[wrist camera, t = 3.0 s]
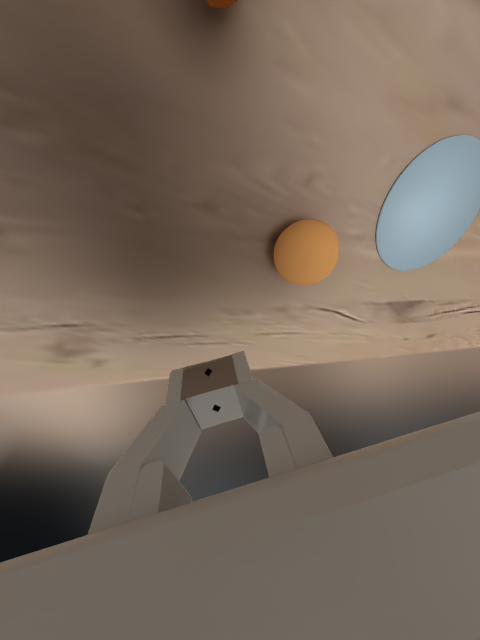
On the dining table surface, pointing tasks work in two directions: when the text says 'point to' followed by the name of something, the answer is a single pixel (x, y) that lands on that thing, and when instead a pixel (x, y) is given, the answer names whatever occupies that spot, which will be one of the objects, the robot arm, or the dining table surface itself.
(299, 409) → the robot arm
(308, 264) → the ball
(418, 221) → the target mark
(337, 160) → the dining table surface
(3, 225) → the dining table surface
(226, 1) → the carrot
